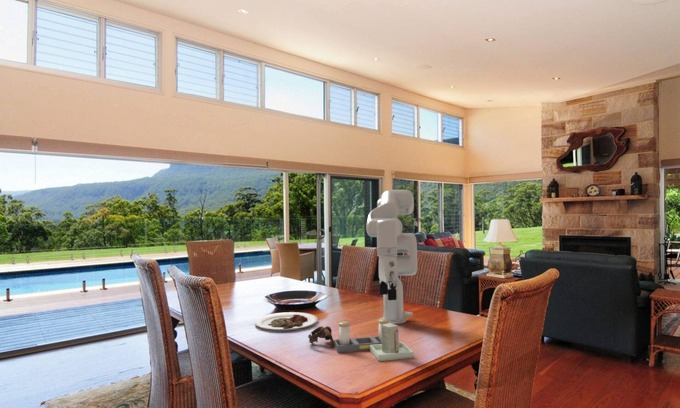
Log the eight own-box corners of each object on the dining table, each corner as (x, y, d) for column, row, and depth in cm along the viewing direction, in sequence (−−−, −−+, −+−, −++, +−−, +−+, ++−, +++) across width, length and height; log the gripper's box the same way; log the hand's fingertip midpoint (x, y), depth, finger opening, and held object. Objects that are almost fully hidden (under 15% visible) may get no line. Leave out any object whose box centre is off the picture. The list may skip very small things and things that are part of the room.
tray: (402, 347, 156) (402, 342, 156) (413, 357, 145) (413, 352, 145) (369, 350, 153) (369, 344, 153) (378, 361, 142) (378, 355, 142)
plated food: (241, 328, 186) (241, 321, 186) (279, 313, 213) (279, 307, 213) (294, 336, 172) (294, 328, 172) (328, 319, 199) (328, 312, 199)
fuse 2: (387, 343, 161) (386, 318, 161) (390, 346, 157) (390, 321, 157) (377, 344, 160) (377, 319, 160) (380, 347, 156) (380, 321, 156)
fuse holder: (389, 341, 163) (389, 335, 163) (396, 347, 155) (395, 341, 156) (333, 346, 158) (333, 339, 158) (337, 352, 151) (337, 346, 151)
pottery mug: (331, 351, 154) (320, 333, 154) (313, 358, 158) (302, 341, 158) (341, 334, 165) (331, 317, 165) (324, 341, 169) (313, 325, 169)
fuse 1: (348, 346, 158) (348, 321, 158) (351, 350, 154) (350, 323, 154) (338, 347, 157) (337, 321, 157) (340, 350, 153) (340, 324, 153)
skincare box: (399, 352, 148) (398, 325, 148) (390, 355, 146) (389, 327, 146) (390, 348, 153) (390, 322, 153) (381, 351, 150) (380, 324, 150)
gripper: (404, 254, 144) (405, 301, 144) (388, 249, 161) (389, 291, 161) (384, 254, 142) (385, 303, 142) (371, 250, 159) (371, 293, 159)
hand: (387, 297), depth 152 cm, fingers open, 9 cm apart
